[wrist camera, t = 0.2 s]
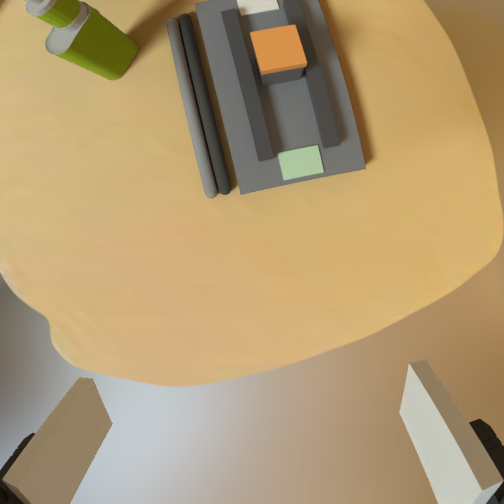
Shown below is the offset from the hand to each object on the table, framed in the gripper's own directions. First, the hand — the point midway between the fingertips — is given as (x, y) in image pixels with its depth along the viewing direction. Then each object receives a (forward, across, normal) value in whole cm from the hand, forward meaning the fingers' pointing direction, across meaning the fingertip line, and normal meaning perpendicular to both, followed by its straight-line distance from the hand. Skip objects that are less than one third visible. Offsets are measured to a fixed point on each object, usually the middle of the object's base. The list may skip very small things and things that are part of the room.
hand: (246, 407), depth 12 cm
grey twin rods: (+27, -6, +18) cm, 33 cm away
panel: (+27, +4, +19) cm, 33 cm away
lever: (+25, +4, +20) cm, 32 cm away
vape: (+27, -15, +26) cm, 40 cm away
